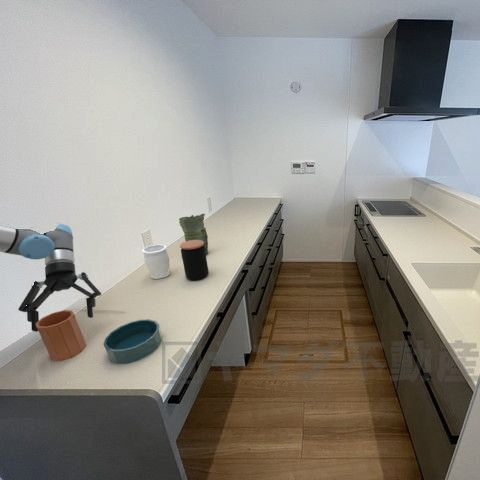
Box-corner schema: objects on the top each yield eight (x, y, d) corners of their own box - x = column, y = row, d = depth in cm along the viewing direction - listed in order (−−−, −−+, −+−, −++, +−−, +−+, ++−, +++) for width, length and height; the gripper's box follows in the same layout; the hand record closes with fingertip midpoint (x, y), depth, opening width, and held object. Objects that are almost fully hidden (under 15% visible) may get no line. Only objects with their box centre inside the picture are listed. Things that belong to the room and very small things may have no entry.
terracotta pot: (54, 366, 80) (37, 331, 75) (49, 352, 85) (34, 319, 81) (89, 351, 86) (76, 317, 81) (83, 338, 91) (70, 306, 87)
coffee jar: (199, 269, 140) (193, 238, 134) (213, 274, 136) (208, 241, 130) (181, 278, 131) (174, 245, 125) (196, 283, 127) (190, 249, 121)
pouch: (184, 258, 153) (176, 217, 144) (195, 250, 164) (188, 211, 155) (202, 259, 152) (195, 218, 143) (212, 251, 163) (206, 212, 154)
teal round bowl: (116, 373, 78) (111, 359, 76) (103, 348, 87) (98, 335, 85) (169, 345, 89) (166, 332, 87) (152, 326, 98) (149, 313, 96)
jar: (144, 276, 133) (137, 249, 128) (165, 268, 141) (160, 242, 136) (155, 282, 127) (148, 254, 122) (176, 274, 135) (170, 247, 130)
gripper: (107, 261, 102) (113, 313, 96) (16, 277, 90) (16, 338, 83) (101, 253, 96) (108, 309, 89) (2, 269, 84) (2, 335, 77)
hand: (64, 323), depth 86 cm, fingers open, 13 cm apart
